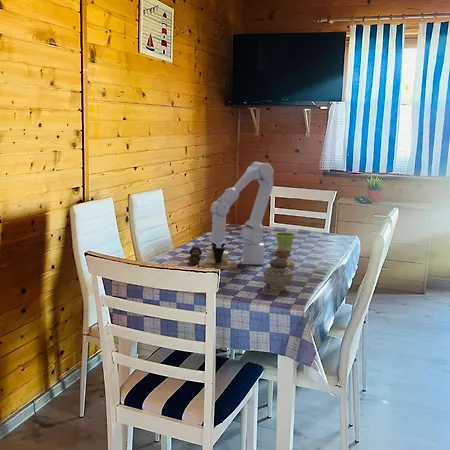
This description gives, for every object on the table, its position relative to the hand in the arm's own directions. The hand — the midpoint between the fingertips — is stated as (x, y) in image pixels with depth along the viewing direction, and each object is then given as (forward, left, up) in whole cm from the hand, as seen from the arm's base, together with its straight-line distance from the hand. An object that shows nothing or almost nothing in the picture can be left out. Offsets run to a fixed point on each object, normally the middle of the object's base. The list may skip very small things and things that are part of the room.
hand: (217, 260), depth 233 cm
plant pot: (-32, -30, -2) cm, 44 cm away
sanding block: (0, 0, -1) cm, 1 cm away
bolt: (+10, -8, -3) cm, 13 cm away
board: (0, 0, -2) cm, 2 cm away
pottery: (-23, +24, -2) cm, 34 cm away
